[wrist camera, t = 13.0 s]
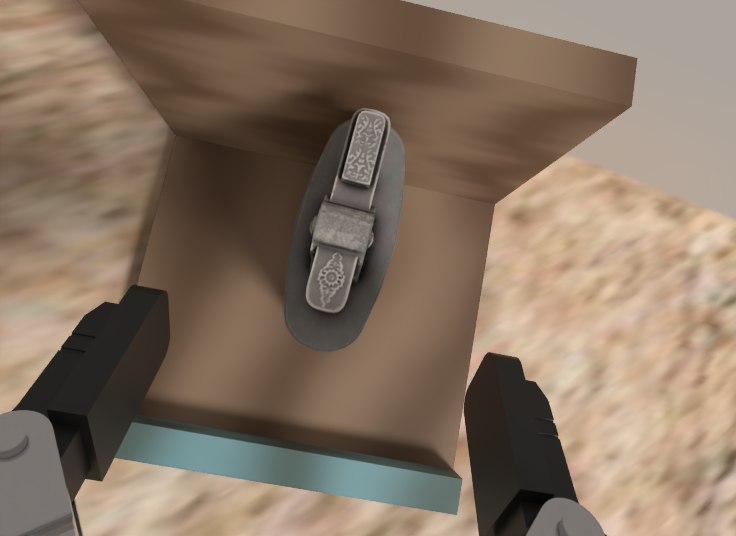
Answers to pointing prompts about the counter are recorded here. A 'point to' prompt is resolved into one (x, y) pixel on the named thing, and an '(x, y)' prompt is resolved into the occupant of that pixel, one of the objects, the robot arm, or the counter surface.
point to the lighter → (345, 233)
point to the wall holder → (281, 206)
